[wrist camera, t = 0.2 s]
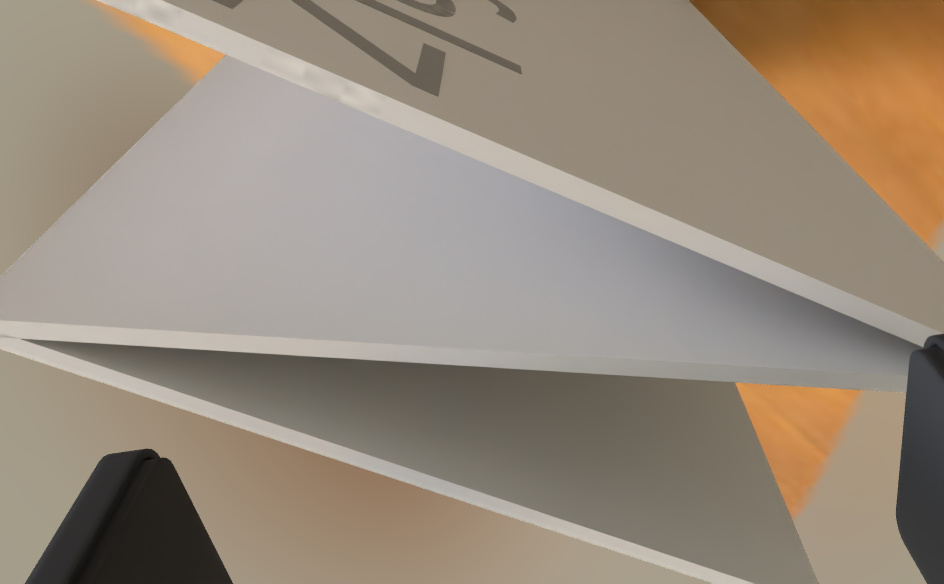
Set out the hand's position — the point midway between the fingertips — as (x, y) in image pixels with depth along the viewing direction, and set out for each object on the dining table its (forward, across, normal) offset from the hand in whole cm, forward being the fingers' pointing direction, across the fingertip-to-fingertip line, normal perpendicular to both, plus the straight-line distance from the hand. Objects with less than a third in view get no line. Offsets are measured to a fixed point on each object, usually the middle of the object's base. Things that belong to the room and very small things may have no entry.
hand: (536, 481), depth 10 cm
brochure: (+32, 0, -2) cm, 32 cm away
